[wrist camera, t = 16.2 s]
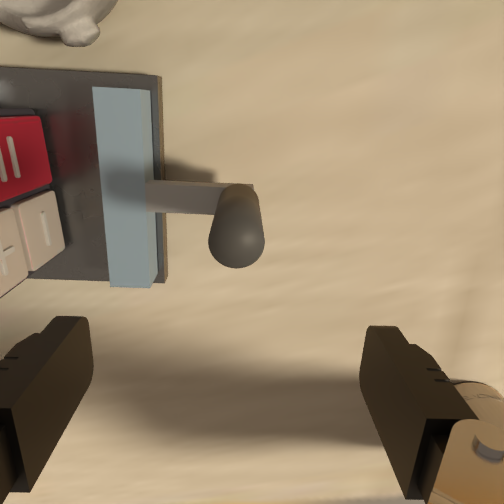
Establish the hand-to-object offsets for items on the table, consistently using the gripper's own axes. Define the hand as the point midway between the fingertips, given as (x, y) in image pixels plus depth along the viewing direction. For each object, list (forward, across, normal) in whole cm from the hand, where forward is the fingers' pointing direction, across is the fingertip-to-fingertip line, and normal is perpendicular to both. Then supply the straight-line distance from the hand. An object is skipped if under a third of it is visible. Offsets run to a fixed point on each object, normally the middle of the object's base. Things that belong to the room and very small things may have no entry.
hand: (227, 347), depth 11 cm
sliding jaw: (+20, +4, 0) cm, 20 cm away
